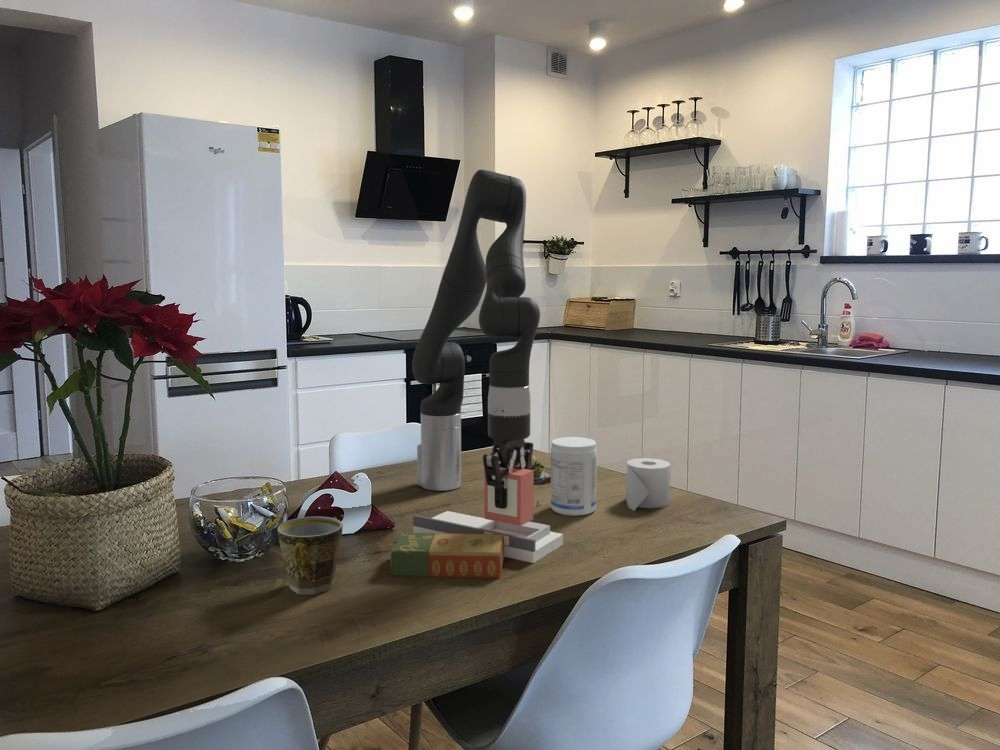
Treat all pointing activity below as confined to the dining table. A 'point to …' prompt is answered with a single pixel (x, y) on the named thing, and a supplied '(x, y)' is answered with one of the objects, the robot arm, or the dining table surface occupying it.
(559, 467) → the supplement tub
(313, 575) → the ceramic cup
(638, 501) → the toilet tissue
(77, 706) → the dining table surface
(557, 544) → the shelf strip
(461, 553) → the carton
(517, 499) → the tea box
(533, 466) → the burger
